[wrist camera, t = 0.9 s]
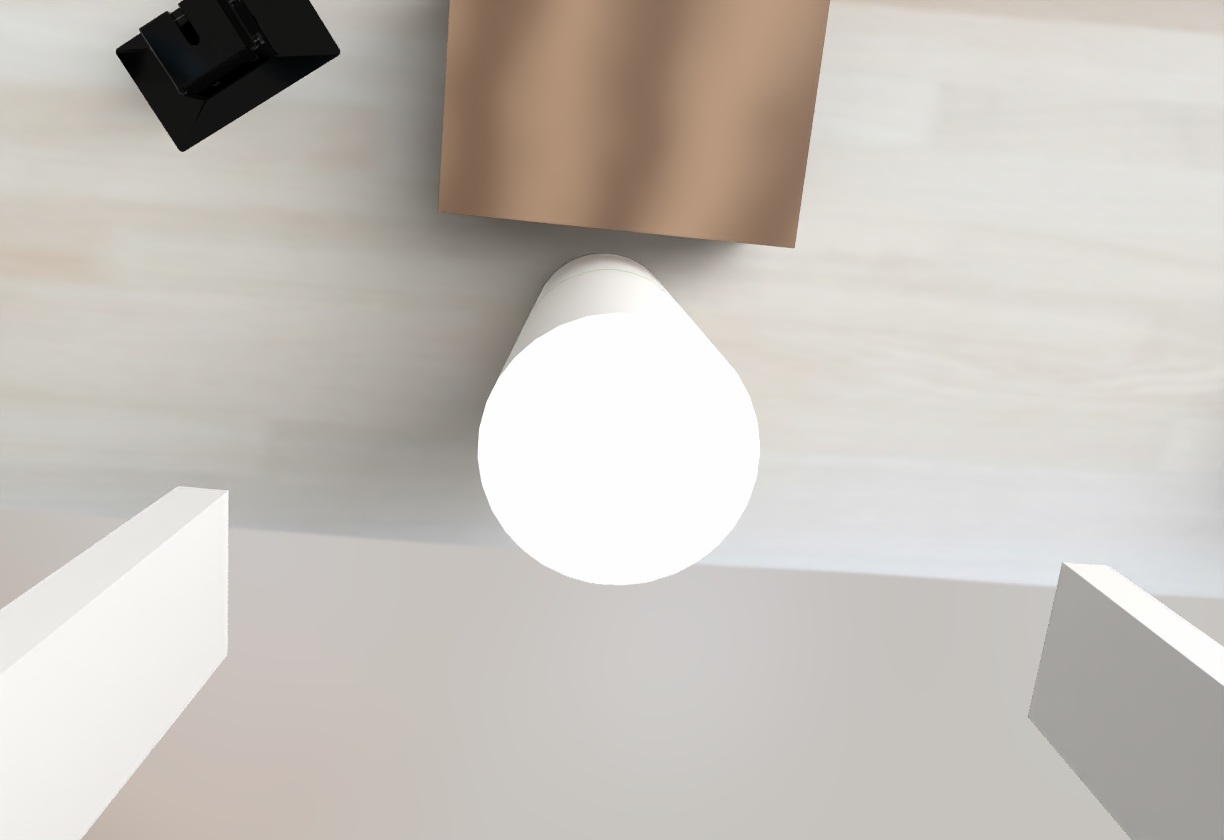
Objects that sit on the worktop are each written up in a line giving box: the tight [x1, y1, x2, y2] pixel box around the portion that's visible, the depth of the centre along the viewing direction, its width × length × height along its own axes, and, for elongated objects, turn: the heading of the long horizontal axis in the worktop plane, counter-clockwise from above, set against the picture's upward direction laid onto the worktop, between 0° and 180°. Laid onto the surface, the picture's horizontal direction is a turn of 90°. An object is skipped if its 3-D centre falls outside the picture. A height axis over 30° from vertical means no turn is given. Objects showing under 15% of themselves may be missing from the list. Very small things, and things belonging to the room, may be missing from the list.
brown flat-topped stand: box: [438, 0, 830, 248], centre depth 41 cm, size 15×12×8 cm
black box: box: [116, 0, 340, 152], centre depth 43 cm, size 12×7×5 cm, turn 120°
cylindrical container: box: [478, 253, 760, 585], centre depth 36 cm, size 7×7×25 cm
